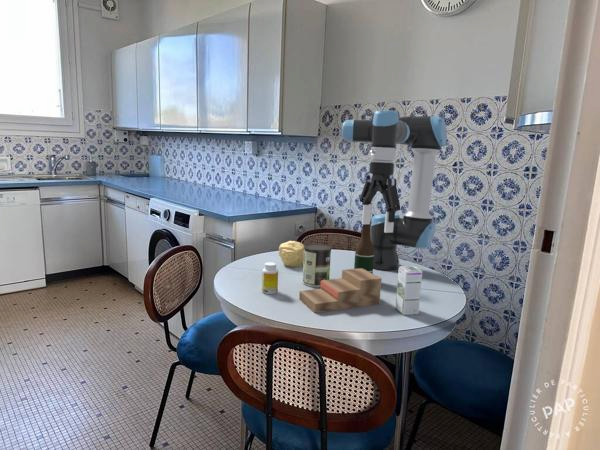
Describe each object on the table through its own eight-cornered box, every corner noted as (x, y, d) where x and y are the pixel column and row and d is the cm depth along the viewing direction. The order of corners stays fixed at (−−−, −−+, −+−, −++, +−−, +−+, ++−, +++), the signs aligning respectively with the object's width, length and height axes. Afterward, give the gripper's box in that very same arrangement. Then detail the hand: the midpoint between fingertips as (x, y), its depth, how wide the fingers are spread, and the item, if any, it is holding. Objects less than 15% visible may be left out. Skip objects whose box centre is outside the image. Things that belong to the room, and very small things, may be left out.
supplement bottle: (280, 293, 145) (281, 265, 143) (265, 295, 142) (265, 266, 140) (273, 288, 150) (274, 260, 148) (259, 290, 147) (260, 262, 145)
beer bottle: (367, 285, 158) (372, 223, 153) (349, 281, 162) (353, 220, 157) (375, 280, 164) (380, 220, 160) (357, 276, 168) (361, 217, 164)
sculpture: (274, 265, 178) (275, 241, 175) (289, 259, 188) (290, 236, 186) (297, 271, 172) (298, 245, 170) (311, 264, 182) (313, 240, 180)
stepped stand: (360, 292, 150) (361, 268, 148) (379, 304, 139) (381, 278, 137) (299, 299, 140) (300, 273, 138) (314, 313, 129) (316, 285, 128)
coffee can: (330, 280, 162) (333, 244, 159) (327, 288, 152) (329, 251, 149) (304, 277, 164) (306, 242, 161) (299, 285, 154) (301, 248, 151)
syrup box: (419, 314, 132) (423, 270, 129) (402, 315, 130) (406, 271, 128) (410, 307, 137) (415, 265, 134) (394, 308, 136) (398, 265, 133)
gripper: (352, 159, 140) (348, 221, 144) (394, 163, 118) (388, 236, 121) (371, 160, 143) (366, 220, 147) (416, 164, 120) (409, 235, 124)
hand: (376, 228), depth 134 cm, fingers open, 13 cm apart
